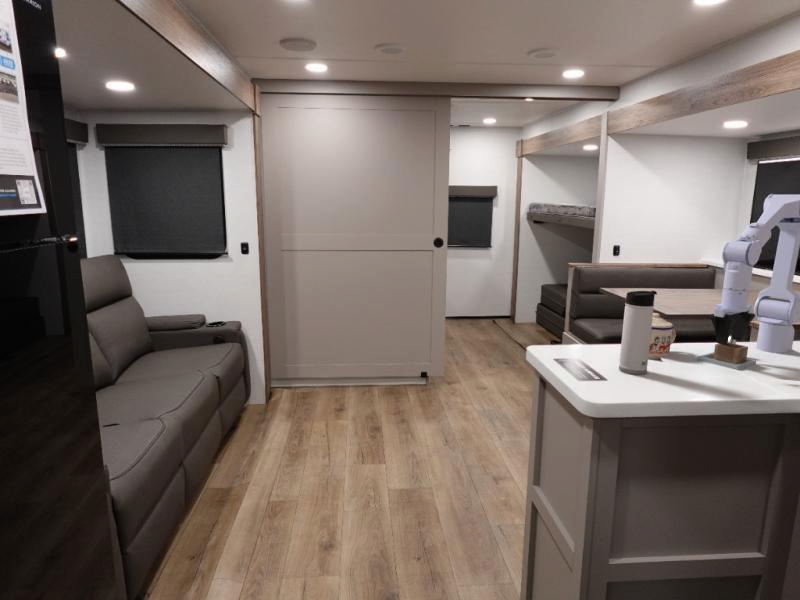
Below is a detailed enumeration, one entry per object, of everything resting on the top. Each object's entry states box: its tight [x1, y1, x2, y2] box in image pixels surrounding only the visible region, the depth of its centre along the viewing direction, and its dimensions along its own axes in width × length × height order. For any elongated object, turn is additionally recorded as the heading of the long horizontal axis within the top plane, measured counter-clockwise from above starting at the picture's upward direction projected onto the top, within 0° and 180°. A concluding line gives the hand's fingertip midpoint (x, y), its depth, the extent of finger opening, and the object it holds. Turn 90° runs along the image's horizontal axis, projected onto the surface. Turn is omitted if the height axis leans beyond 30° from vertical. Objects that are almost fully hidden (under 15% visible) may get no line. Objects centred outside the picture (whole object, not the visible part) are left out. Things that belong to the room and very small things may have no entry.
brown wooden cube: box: [712, 342, 749, 365], centre depth 137 cm, size 5×5×5 cm
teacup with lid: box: [648, 312, 677, 361], centre depth 146 cm, size 12×9×12 cm
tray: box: [697, 351, 757, 371], centre depth 138 cm, size 10×10×2 cm
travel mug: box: [618, 290, 658, 376], centre depth 130 cm, size 6×7×20 cm
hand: (729, 341), depth 137 cm, fingers open, 7 cm apart
